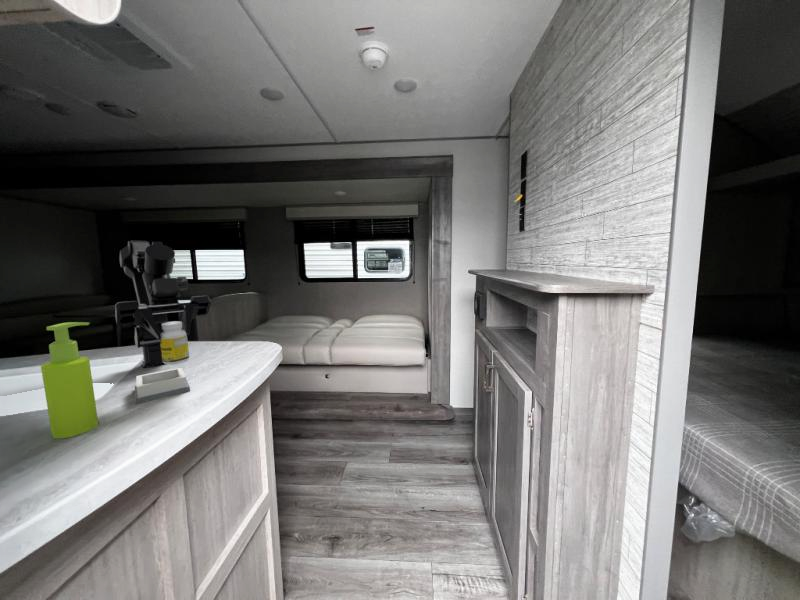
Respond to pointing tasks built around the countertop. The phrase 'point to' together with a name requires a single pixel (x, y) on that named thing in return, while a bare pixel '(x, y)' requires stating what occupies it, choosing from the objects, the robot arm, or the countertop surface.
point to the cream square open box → (160, 384)
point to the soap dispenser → (68, 386)
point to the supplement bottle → (174, 343)
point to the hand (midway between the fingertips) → (174, 336)
